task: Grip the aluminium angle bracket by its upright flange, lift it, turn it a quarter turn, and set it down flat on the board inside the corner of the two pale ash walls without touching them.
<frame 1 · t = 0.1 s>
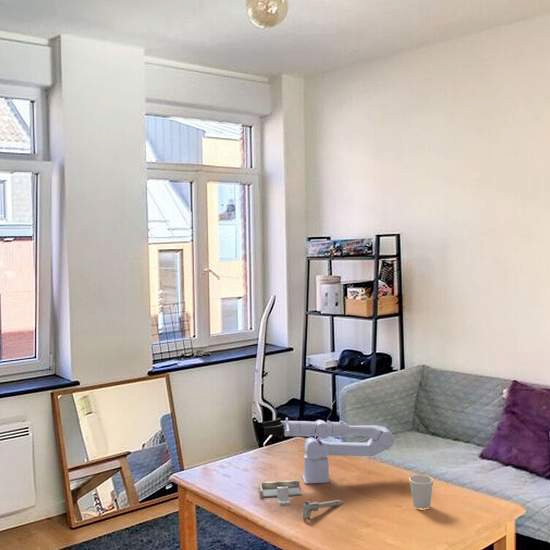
hand: (263, 427, 256), 22 cm above the table, tool horizontal, fingers open, 7 cm apart
caliper: (324, 512, 229), on the table
bracket: (283, 502, 238), on the table
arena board: (281, 492, 247), on the table
side wall: (260, 493, 246), on the table
back wall: (279, 488, 251), on the table
dixie cup: (421, 507, 230), on the table
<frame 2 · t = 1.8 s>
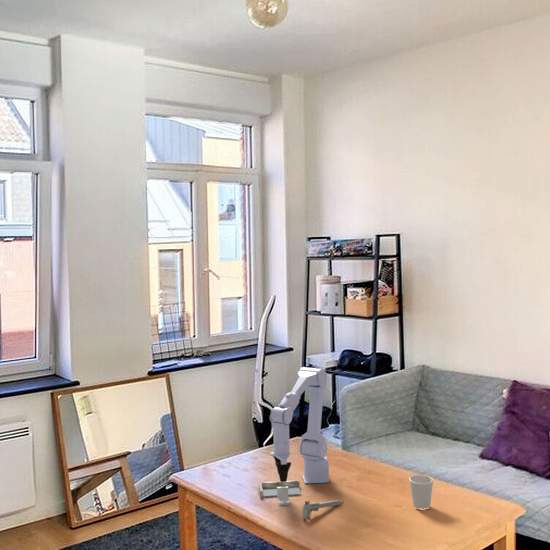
hand: (282, 477, 240), 8 cm above the table, tool pointing down, fingers open, 7 cm apart
nothing on the table moved.
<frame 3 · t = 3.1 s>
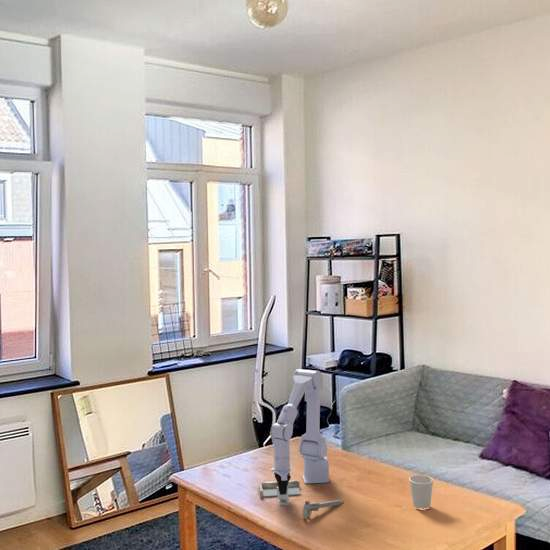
hand: (282, 493, 240), 2 cm above the table, tool pointing down, fingers closed on bracket
bracket: (283, 501, 238), on the table, touching gripper
everything else where it was.
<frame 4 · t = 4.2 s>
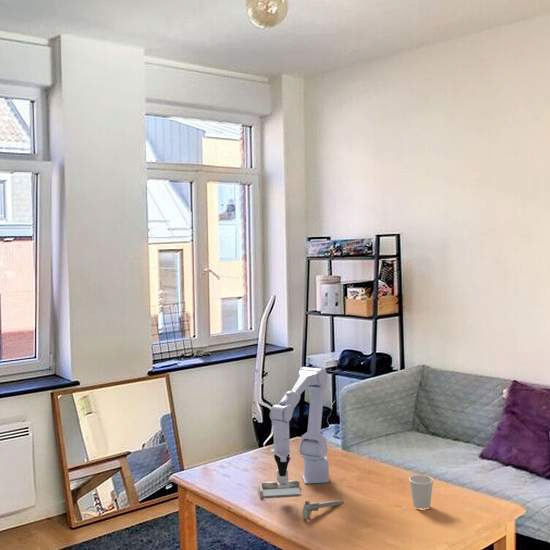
hand: (282, 475, 240), 9 cm above the table, tool pointing down, fingers closed on bracket
bracket: (283, 484, 238), point 6 cm above the table, touching gripper
everything else where it was.
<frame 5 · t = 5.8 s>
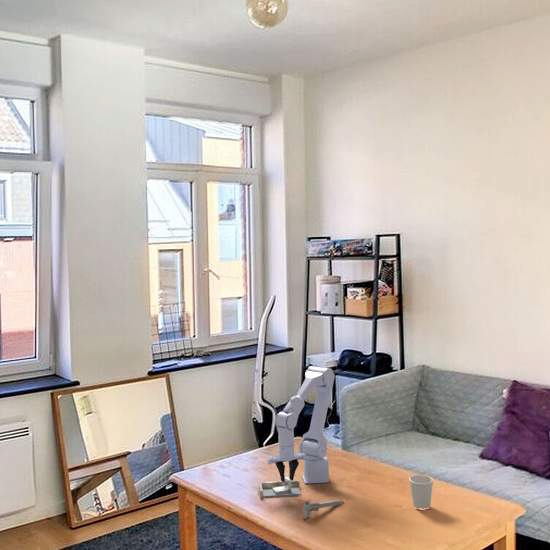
hand: (287, 480, 247), 4 cm above the table, tool pointing down, fingers open, 3 cm apart
bracket: (281, 491, 246), point 1 cm above the table, touching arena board
everything else where it was.
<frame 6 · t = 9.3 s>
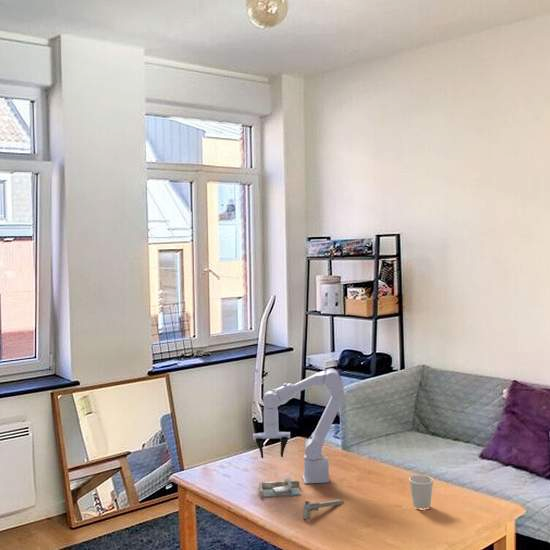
hand: (271, 456, 259), 9 cm above the table, tool pointing down, fingers open, 7 cm apart
nothing on the table moved.
at the end: bracket 0.6 cm from the target spot, point 0.6 cm above the table; bracket touching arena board; bracket tilted 0° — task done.
